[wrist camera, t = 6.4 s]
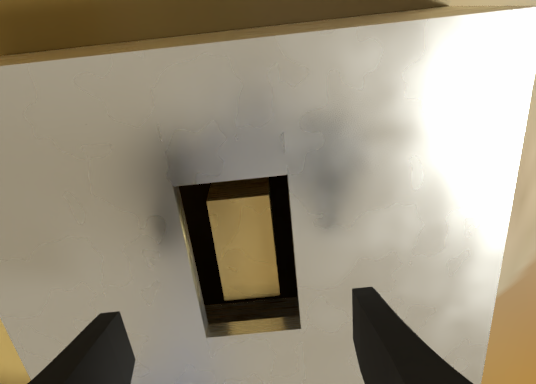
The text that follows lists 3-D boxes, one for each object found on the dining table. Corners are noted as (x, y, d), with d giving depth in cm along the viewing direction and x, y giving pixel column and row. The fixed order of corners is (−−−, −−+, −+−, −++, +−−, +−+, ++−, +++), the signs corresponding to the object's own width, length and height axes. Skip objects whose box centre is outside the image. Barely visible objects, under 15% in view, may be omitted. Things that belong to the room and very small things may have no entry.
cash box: (426, 294, 24) (480, 386, 18) (101, 325, 25) (53, 425, 19) (449, 5, 18) (546, 5, 12) (4, 55, 18) (-118, 78, 12)
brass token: (275, 237, 23) (280, 295, 18) (231, 241, 23) (224, 301, 18) (266, 153, 20) (269, 195, 16) (217, 158, 20) (206, 201, 16)
